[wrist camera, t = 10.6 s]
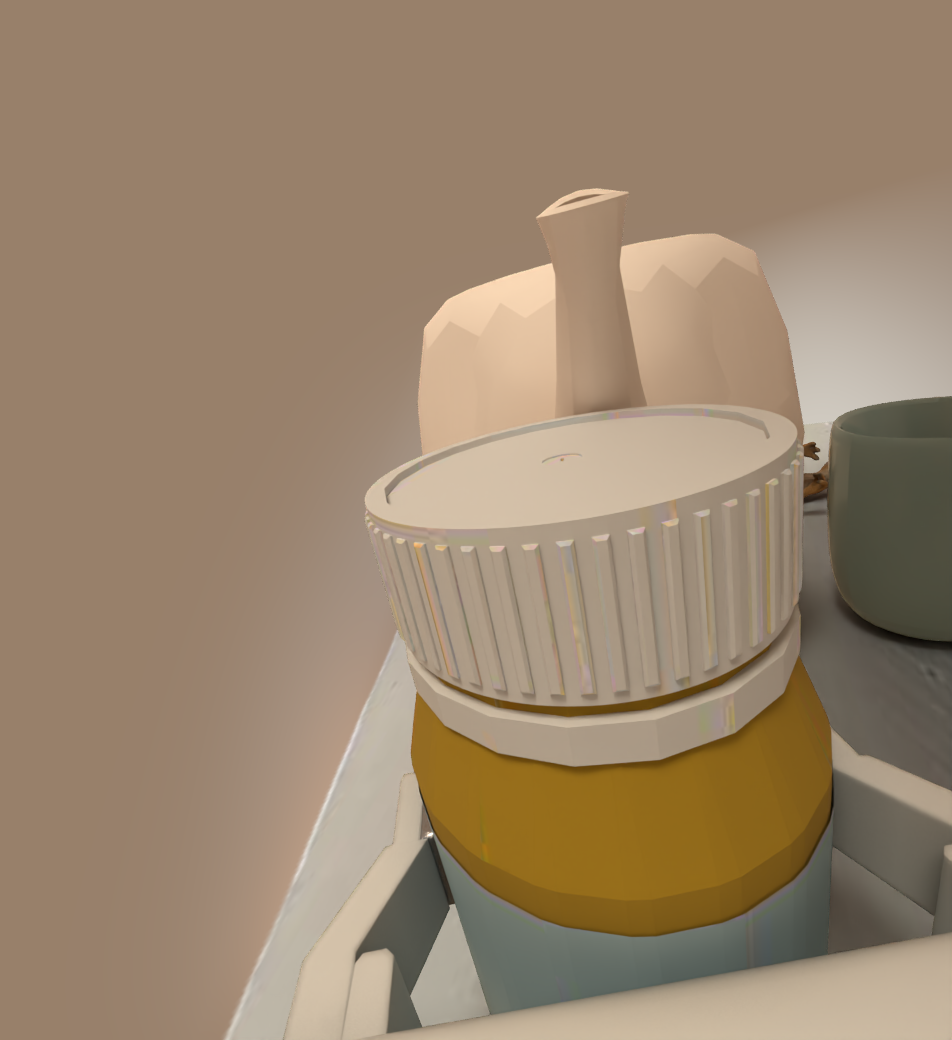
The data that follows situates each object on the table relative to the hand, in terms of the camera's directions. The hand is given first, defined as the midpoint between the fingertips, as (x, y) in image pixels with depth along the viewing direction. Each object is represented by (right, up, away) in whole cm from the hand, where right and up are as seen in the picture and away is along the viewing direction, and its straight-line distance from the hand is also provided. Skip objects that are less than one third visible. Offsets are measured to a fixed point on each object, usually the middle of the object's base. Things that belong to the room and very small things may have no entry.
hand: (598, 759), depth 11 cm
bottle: (+2, -8, +2) cm, 8 cm away
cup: (+19, 0, +14) cm, 24 cm away
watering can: (+5, -2, +15) cm, 16 cm away
